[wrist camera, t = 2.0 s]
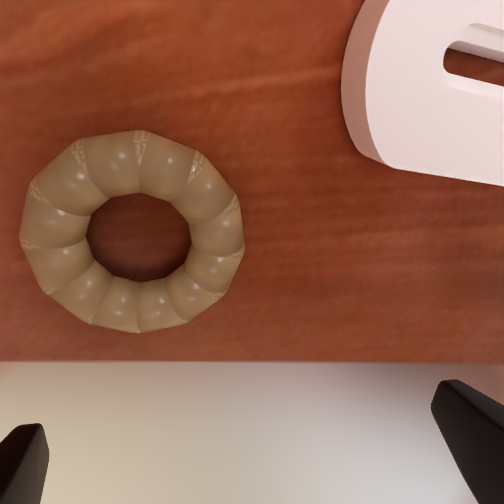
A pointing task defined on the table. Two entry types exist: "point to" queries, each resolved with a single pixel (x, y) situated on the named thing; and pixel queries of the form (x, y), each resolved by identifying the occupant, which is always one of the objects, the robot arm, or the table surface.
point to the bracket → (425, 87)
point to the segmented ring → (123, 183)
